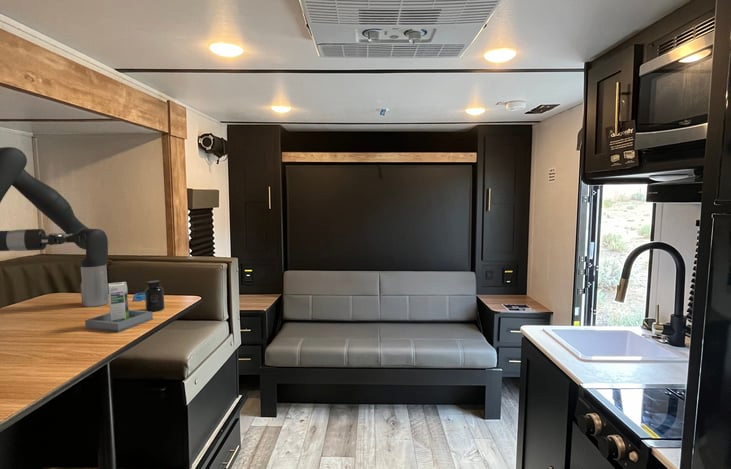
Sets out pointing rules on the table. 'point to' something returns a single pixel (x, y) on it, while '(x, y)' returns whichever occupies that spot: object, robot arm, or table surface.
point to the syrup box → (118, 301)
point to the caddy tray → (106, 324)
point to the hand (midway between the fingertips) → (82, 237)
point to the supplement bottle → (154, 296)
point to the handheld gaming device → (139, 297)
